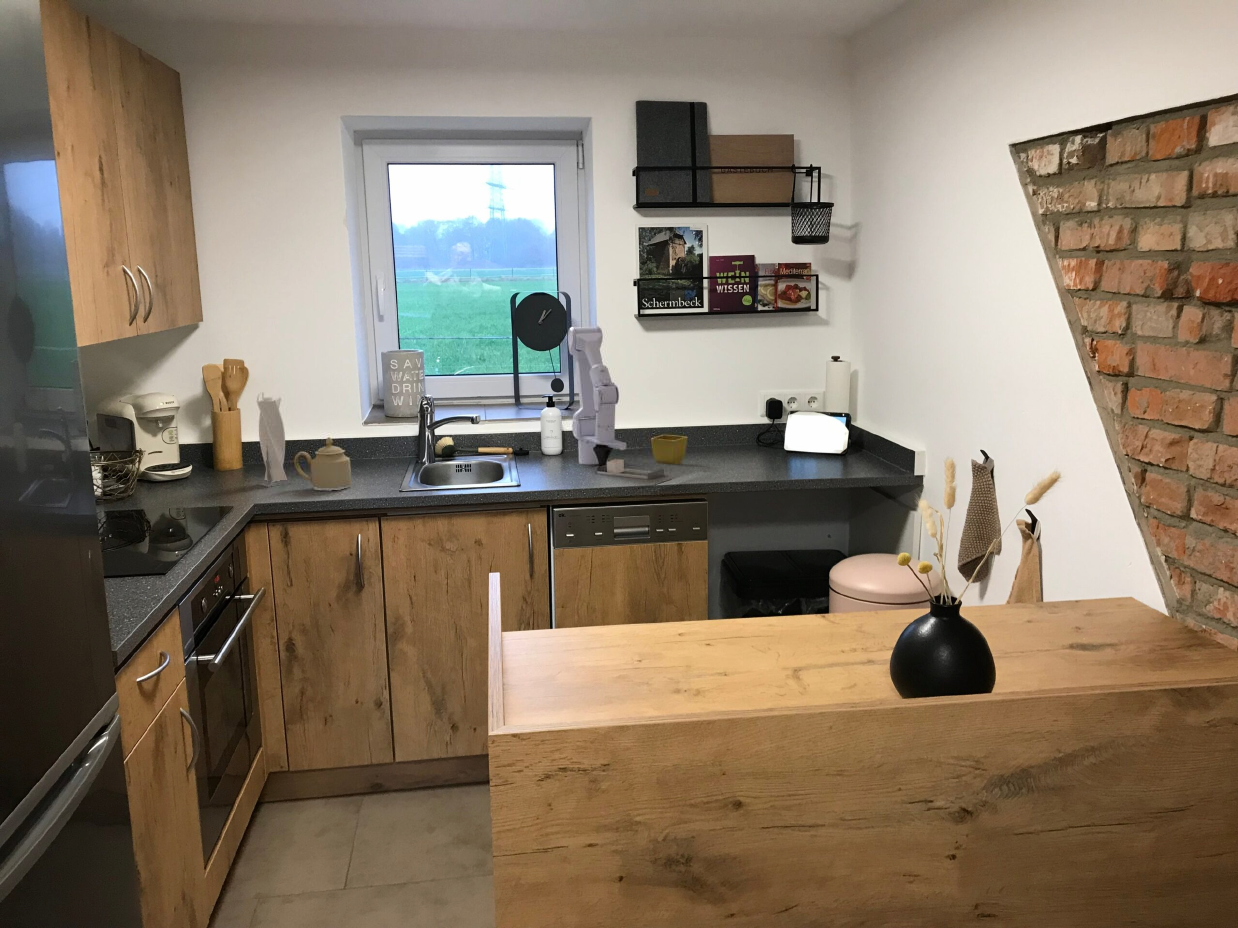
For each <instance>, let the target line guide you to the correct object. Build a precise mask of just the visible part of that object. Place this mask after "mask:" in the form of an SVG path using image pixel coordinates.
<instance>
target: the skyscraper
mask: <svg viewBox="0 0 1238 928" xmlns="http://www.w3.org/2000/svg"><path fill="white" fill-rule="evenodd" d="M264 394H265V392H263V391H260V392H259V393H258V395H257V398H256V404H257V406H258V409H259V419H258V439H259V445H260V450H261V454H262V458H263V459H262V460H263V462H264V466H265V475H264V480H267V481H268V484H272V483H273V482H275V481H280V480H288V478H287V474H286V472H285V469H284V463H285V452H286V432H285V427H284V422H283V418H282V415H281V412H280V405H281V401H282V400H281V399H282V398H281V397H280V396H277V397H275V398H274V396H265V395H264ZM260 395H261V400H259V399H260Z"/></svg>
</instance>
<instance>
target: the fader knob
mask: <svg viewBox="0 0 1238 928" xmlns="http://www.w3.org/2000/svg"><path fill="white" fill-rule="evenodd" d="M624 463H625V462H624V459H621V458H620V459H619V458H618V459H616V458H615V459H612V460H608V461H607V462H606V464H607V471H606V472H612V473H621V474H622V473H623V472H625V471H624V469H625V466H624Z"/></svg>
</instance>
